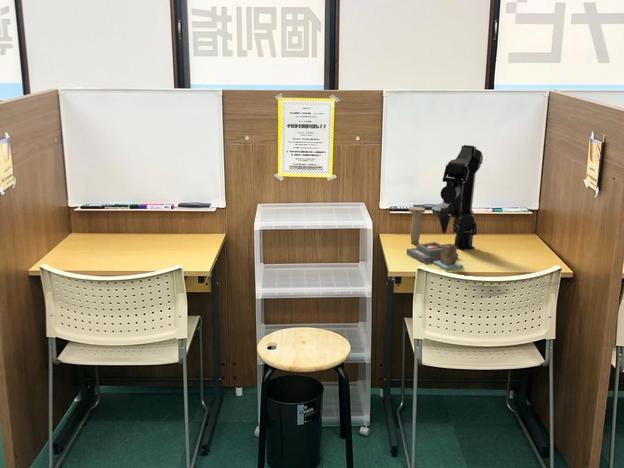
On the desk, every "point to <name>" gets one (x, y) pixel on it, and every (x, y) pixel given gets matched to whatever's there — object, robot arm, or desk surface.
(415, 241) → the handle
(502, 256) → the desk surface
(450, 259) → the brown upright block
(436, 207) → the robot arm
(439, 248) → the grey stepped block
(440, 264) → the pad
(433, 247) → the button
